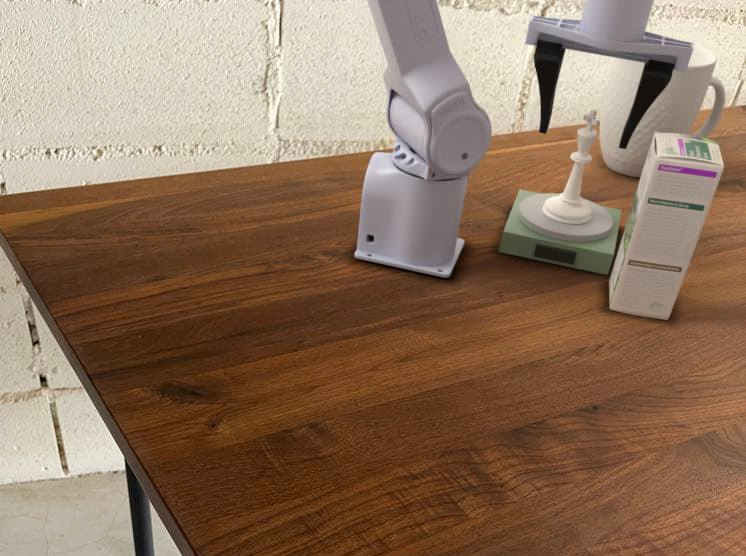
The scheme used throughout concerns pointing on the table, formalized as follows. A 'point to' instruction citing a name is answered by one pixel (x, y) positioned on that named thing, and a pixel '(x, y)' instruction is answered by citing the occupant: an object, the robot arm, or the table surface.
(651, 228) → the syrup box
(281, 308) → the table surface
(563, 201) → the chess piece
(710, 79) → the mug
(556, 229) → the scale
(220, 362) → the table surface
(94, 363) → the table surface
